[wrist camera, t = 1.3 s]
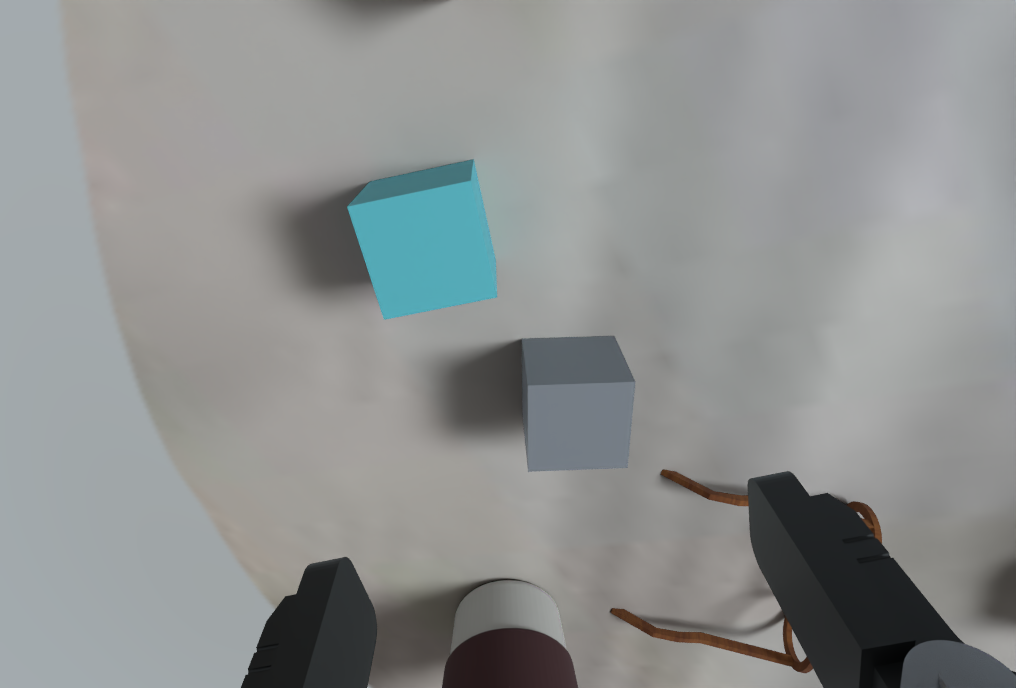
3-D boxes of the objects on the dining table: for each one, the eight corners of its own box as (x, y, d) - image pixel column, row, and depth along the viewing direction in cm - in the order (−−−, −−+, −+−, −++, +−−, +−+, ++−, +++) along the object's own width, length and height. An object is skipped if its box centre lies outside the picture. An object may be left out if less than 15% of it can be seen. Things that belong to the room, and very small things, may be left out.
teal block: (369, 181, 27) (347, 206, 23) (473, 159, 27) (471, 180, 23) (399, 279, 30) (383, 319, 25) (495, 259, 29) (497, 297, 25)
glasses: (780, 622, 43) (814, 688, 38) (609, 607, 42) (623, 673, 37) (856, 484, 37) (906, 543, 33) (660, 461, 36) (685, 519, 31)
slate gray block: (521, 338, 31) (527, 385, 27) (613, 335, 31) (635, 381, 27) (522, 415, 34) (528, 471, 29) (608, 412, 34) (627, 467, 29)
